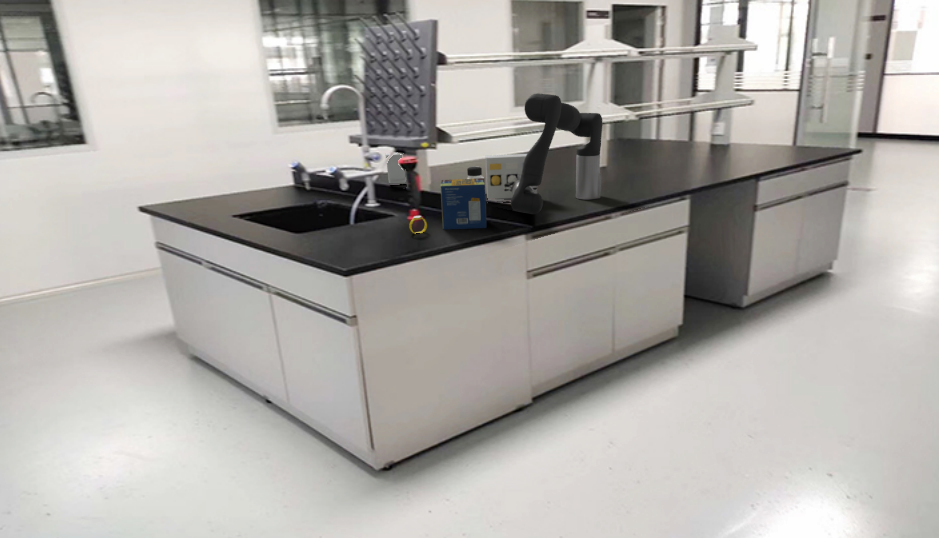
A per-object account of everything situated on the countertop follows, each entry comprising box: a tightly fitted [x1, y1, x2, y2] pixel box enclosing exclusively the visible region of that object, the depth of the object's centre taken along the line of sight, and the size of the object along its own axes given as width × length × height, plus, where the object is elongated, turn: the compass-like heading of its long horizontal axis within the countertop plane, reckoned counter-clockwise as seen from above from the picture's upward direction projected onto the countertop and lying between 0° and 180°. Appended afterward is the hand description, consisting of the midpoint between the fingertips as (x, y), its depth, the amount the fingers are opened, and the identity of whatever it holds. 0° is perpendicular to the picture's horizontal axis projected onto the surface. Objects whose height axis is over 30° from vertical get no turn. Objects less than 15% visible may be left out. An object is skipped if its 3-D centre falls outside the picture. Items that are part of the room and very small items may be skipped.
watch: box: [408, 215, 428, 235], centre depth 209 cm, size 6×3×6 cm, turn 116°
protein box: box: [440, 177, 487, 230], centre depth 215 cm, size 10×15×16 cm
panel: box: [485, 153, 538, 200], centre depth 247 cm, size 20×6×18 cm, turn 91°
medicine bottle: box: [466, 165, 486, 183], centre depth 260 cm, size 7×7×12 cm
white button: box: [507, 174, 517, 183], centre depth 243 cm, size 4×5×4 cm
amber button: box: [491, 175, 500, 185], centre depth 245 cm, size 4×5×4 cm
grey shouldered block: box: [385, 152, 407, 184], centre depth 287 cm, size 8×6×15 cm
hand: (518, 182), depth 239 cm, fingers closed
